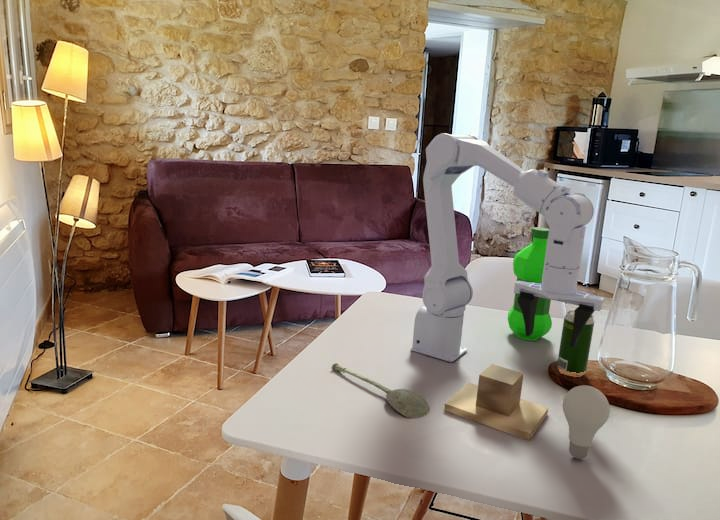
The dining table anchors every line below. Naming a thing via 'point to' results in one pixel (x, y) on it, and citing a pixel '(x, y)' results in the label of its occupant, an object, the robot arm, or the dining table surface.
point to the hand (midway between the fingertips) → (550, 339)
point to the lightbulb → (584, 417)
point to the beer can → (579, 354)
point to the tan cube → (499, 389)
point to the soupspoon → (397, 397)
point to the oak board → (517, 423)
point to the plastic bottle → (531, 270)
